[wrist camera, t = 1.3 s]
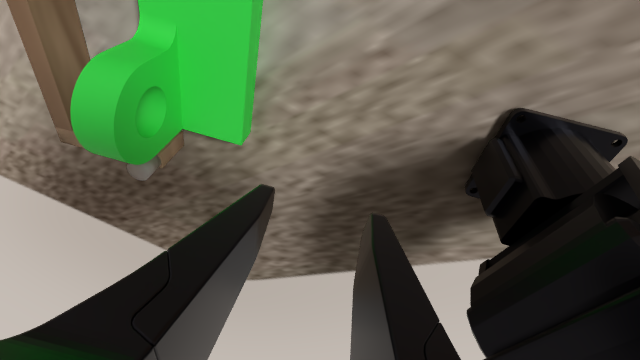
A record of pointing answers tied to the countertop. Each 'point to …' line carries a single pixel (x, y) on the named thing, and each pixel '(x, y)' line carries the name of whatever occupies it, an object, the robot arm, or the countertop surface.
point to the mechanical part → (171, 79)
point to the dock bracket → (66, 67)
